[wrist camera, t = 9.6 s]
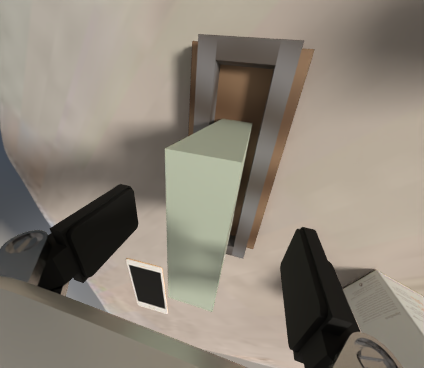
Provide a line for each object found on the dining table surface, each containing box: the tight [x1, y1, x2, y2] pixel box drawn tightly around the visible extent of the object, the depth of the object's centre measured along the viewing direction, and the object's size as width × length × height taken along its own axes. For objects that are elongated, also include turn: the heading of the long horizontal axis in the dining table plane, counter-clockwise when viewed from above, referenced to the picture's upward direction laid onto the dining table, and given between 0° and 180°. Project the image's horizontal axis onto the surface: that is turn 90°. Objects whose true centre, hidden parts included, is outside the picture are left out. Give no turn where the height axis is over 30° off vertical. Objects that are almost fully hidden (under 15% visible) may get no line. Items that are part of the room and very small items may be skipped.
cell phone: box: [126, 258, 168, 314], centre depth 37 cm, size 8×16×1 cm, turn 177°
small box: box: [343, 270, 424, 368], centre depth 18 cm, size 8×6×10 cm
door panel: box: [165, 119, 252, 312], centre depth 14 cm, size 10×3×12 cm, turn 174°
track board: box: [188, 34, 315, 258], centre depth 19 cm, size 22×10×3 cm, turn 174°
